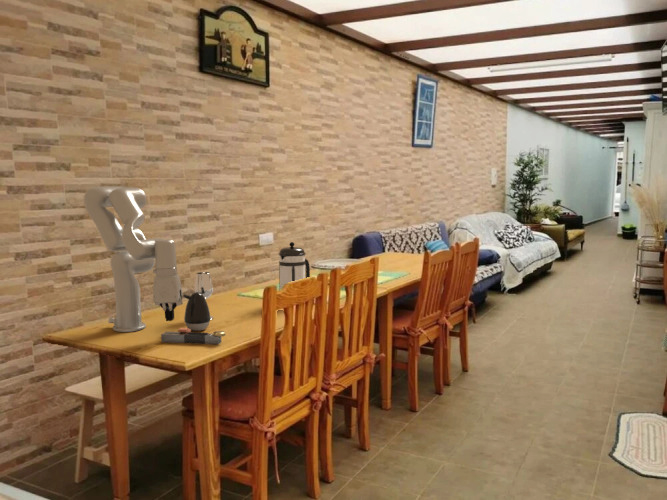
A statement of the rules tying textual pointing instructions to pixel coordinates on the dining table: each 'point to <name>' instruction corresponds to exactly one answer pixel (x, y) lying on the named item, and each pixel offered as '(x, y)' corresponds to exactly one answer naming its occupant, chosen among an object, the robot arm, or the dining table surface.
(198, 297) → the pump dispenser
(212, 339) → the tongs moving arm
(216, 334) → the tongs fixed arm
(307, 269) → the coffee press
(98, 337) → the dining table surface
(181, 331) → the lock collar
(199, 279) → the wineglass
